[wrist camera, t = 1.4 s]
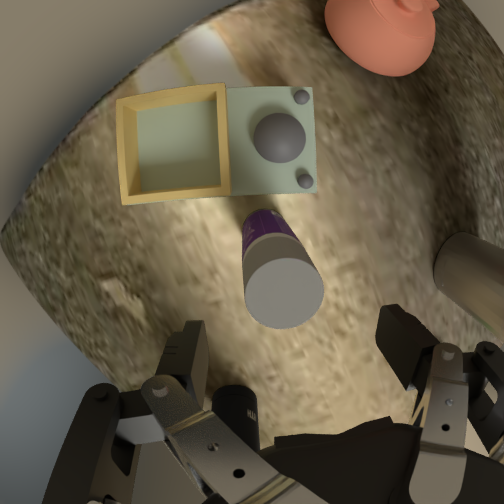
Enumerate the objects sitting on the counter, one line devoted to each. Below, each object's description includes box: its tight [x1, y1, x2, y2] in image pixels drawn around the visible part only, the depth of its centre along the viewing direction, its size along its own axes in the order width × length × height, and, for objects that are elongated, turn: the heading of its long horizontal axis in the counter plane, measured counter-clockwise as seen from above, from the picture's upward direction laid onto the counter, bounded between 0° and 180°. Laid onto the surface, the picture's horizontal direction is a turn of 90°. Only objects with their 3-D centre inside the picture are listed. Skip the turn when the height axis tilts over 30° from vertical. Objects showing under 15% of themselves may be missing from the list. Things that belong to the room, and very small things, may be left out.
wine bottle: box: [211, 385, 260, 453], centre depth 23 cm, size 6×6×30 cm
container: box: [242, 209, 324, 329], centre depth 22 cm, size 5×5×15 cm
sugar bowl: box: [325, 0, 439, 76], centre depth 18 cm, size 12×14×10 cm
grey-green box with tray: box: [116, 83, 317, 205], centre depth 23 cm, size 16×9×9 cm, turn 93°
